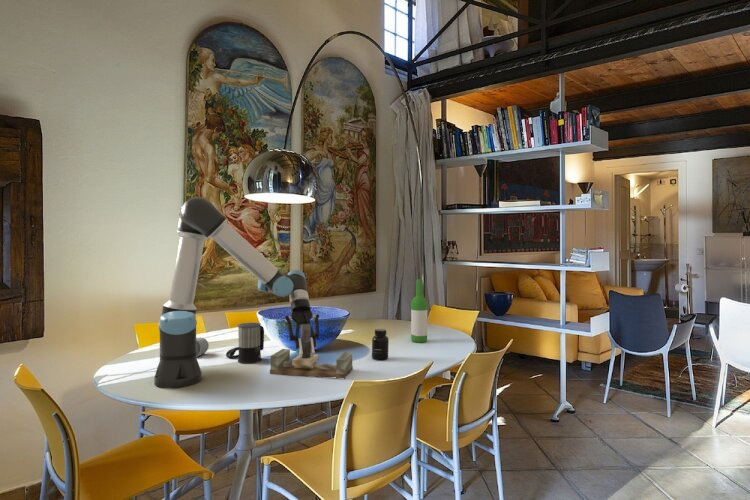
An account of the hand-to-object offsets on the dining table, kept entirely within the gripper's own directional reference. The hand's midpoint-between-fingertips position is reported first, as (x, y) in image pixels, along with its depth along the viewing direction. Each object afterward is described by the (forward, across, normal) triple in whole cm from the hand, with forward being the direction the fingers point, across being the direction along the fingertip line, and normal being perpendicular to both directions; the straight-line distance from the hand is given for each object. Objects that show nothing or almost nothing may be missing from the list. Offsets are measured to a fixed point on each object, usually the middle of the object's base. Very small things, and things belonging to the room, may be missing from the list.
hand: (307, 354), depth 170 cm
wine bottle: (-22, -61, -32) cm, 72 cm away
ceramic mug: (-24, +41, -34) cm, 58 cm away
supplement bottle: (-4, -32, -14) cm, 36 cm away
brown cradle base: (+3, -2, -7) cm, 8 cm away
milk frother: (-15, +22, -25) cm, 36 cm away
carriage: (+1, 0, -6) cm, 6 cm away
